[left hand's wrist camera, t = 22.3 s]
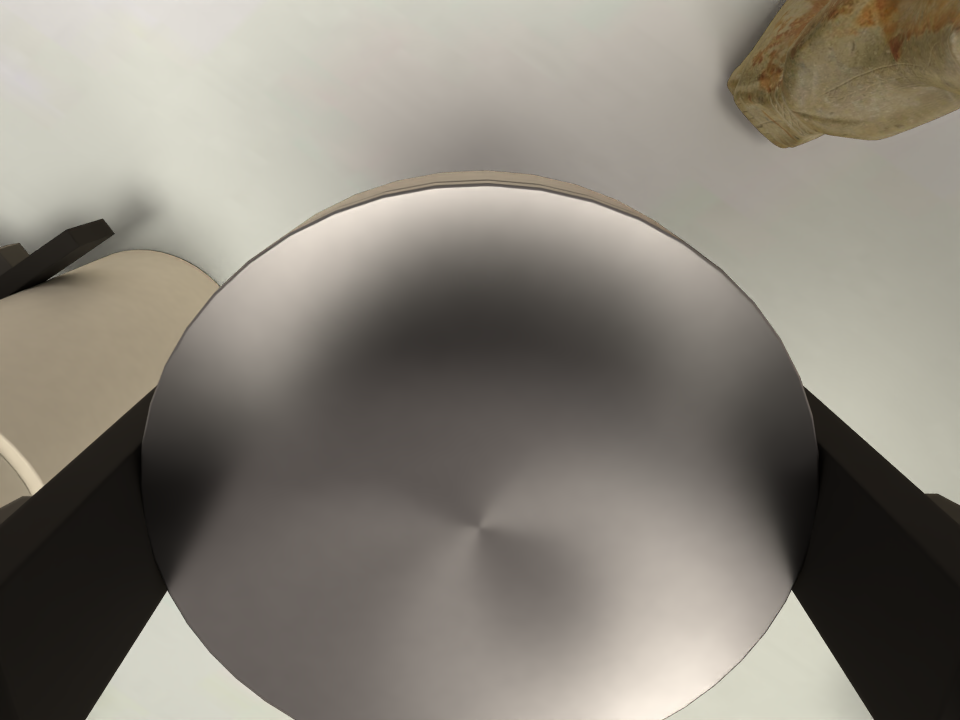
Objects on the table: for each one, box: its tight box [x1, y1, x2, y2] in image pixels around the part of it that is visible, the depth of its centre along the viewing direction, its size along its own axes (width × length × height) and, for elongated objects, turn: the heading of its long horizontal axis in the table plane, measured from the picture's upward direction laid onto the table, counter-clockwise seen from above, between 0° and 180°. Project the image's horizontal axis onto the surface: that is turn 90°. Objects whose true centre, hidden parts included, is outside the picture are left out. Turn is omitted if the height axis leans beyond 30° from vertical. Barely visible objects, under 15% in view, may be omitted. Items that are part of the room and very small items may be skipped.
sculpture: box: [727, 0, 960, 148], centre depth 24 cm, size 6×7×15 cm
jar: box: [0, 250, 220, 508], centre depth 27 cm, size 9×9×18 cm
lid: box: [140, 170, 819, 720], centre depth 11 cm, size 10×10×2 cm
